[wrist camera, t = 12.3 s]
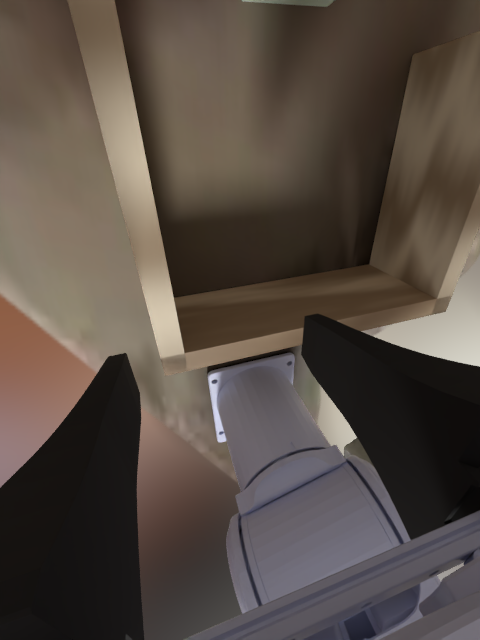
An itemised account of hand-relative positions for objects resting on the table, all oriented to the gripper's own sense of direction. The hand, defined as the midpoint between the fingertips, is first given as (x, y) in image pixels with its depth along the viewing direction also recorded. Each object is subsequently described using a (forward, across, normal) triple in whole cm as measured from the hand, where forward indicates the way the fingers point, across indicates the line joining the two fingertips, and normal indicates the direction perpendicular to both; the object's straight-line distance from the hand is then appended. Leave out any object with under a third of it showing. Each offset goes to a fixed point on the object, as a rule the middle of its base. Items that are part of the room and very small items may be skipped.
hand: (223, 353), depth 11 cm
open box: (+9, -6, -4) cm, 12 cm away
